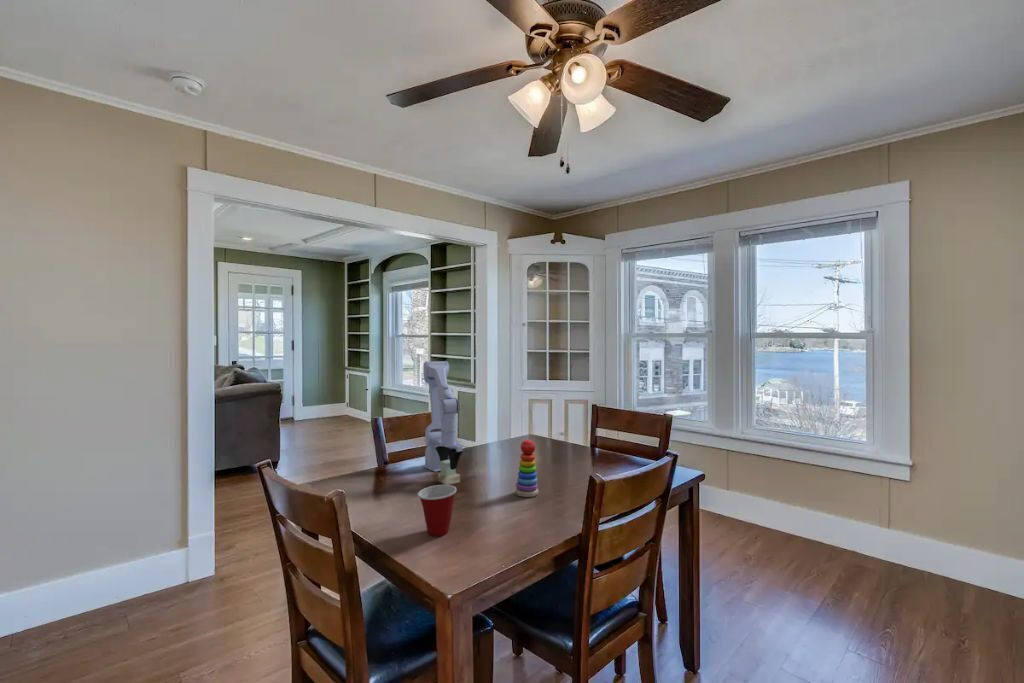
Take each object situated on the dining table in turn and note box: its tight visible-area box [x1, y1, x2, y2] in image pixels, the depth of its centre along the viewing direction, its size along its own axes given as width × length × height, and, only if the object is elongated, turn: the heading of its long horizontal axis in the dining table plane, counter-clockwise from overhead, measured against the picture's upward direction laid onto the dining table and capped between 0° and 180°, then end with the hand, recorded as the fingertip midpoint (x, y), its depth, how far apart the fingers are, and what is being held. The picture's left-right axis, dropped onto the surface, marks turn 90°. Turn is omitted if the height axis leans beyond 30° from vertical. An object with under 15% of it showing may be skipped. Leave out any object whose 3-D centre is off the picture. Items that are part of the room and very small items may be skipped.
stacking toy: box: [515, 439, 540, 498], centre depth 160 cm, size 8×8×19 cm
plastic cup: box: [417, 484, 457, 537], centre depth 130 cm, size 11×11×12 cm
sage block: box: [440, 458, 457, 477], centre depth 173 cm, size 4×4×5 cm
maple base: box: [437, 472, 461, 485], centre depth 174 cm, size 6×6×3 cm
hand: (448, 467), depth 174 cm, fingers open, 6 cm apart
